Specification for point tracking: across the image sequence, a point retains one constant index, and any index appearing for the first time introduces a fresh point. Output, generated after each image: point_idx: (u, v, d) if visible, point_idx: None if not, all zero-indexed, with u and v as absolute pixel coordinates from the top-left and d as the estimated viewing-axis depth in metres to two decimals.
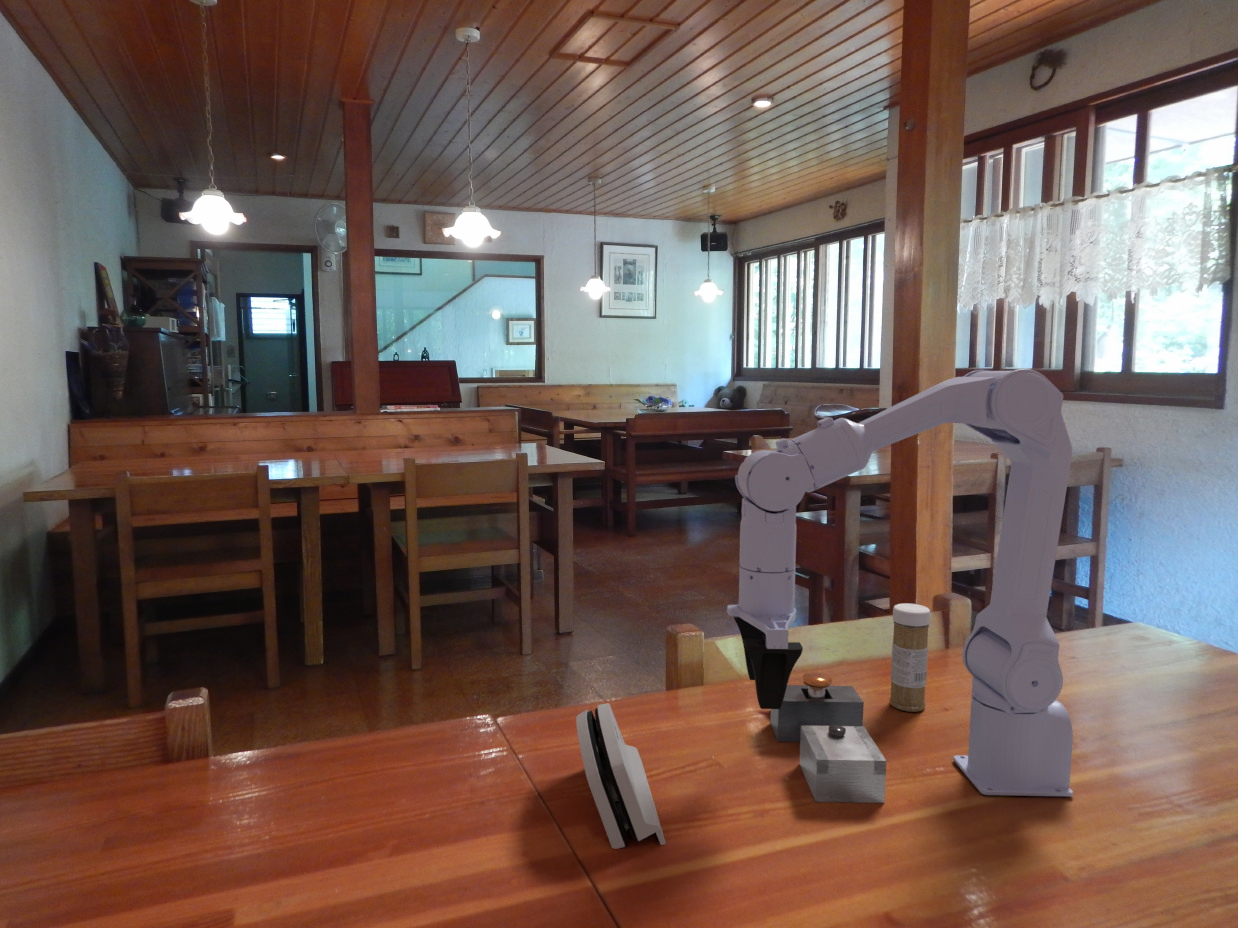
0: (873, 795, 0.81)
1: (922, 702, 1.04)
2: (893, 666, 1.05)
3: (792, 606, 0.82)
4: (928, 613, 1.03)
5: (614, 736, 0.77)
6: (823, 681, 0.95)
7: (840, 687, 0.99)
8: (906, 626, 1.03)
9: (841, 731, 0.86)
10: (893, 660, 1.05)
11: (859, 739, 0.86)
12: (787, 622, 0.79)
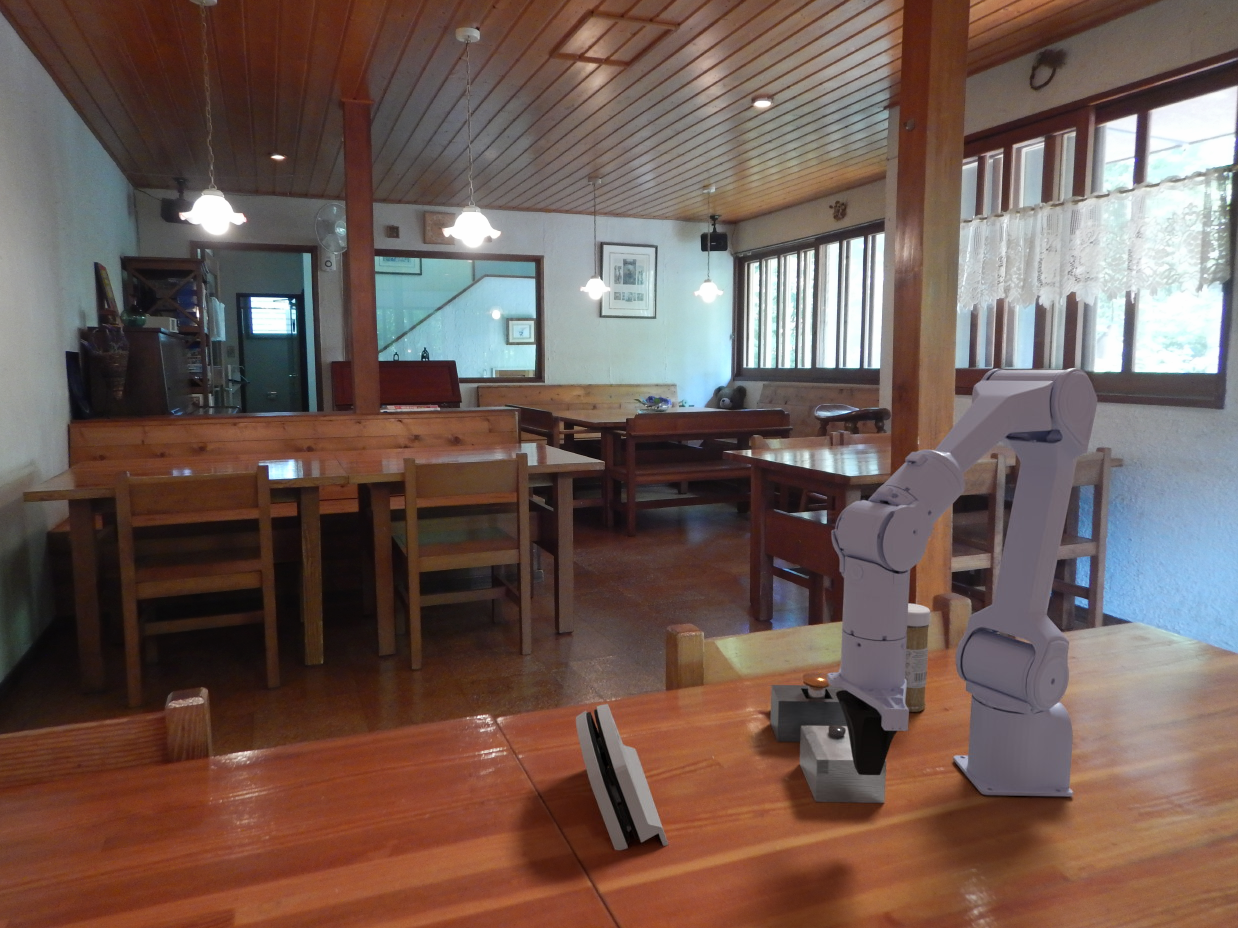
0: (873, 795, 0.81)
1: (922, 702, 1.04)
2: None
3: (903, 677, 0.73)
4: (928, 613, 1.03)
5: (615, 737, 0.77)
6: (823, 681, 0.95)
7: None
8: None
9: (840, 731, 0.86)
10: None
11: None
12: (903, 698, 0.69)
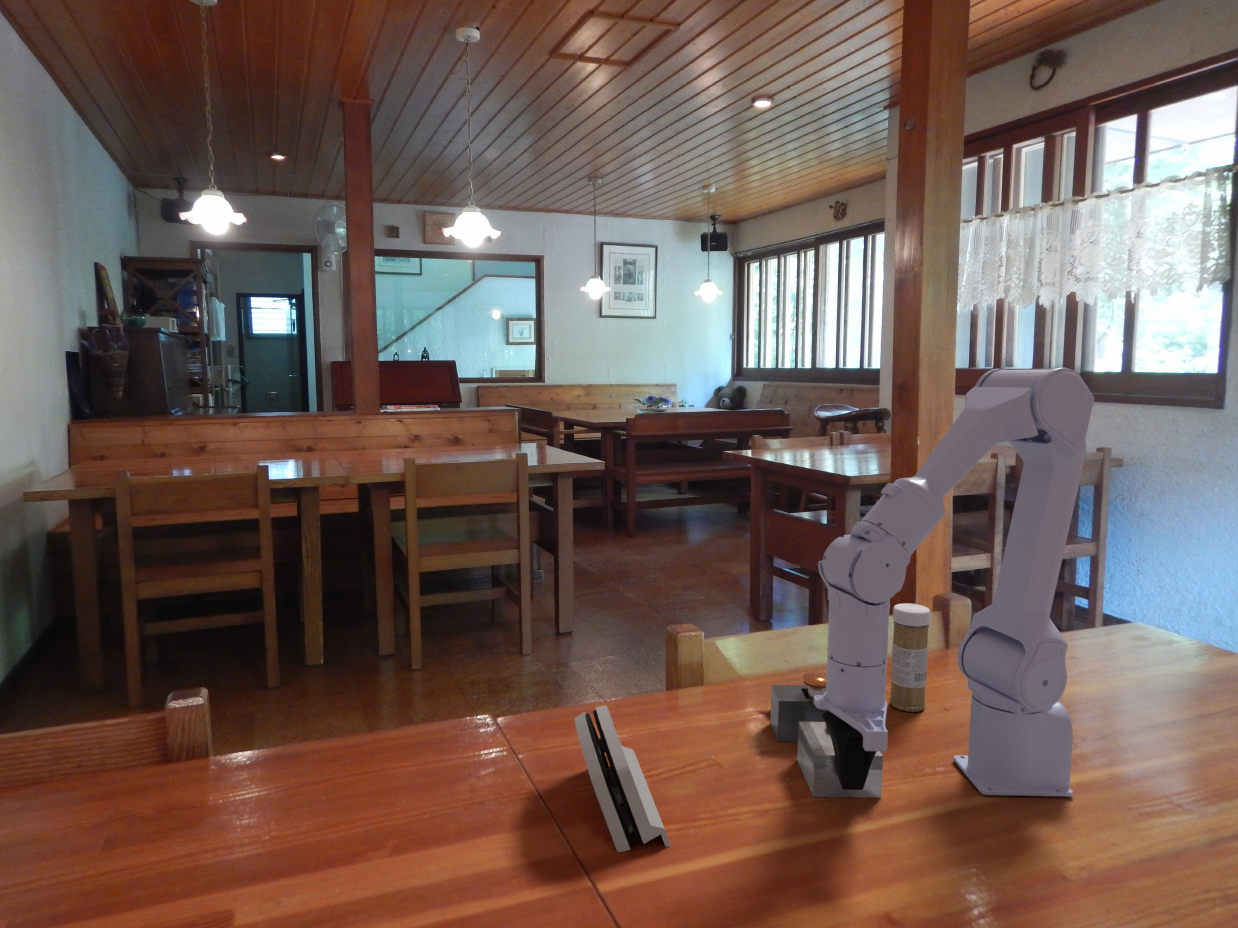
0: (870, 790, 0.82)
1: (922, 702, 1.04)
2: (893, 666, 1.05)
3: (884, 699, 0.78)
4: (928, 613, 1.03)
5: (617, 738, 0.77)
6: (823, 681, 0.95)
7: None
8: (906, 626, 1.03)
9: None
10: (893, 660, 1.05)
11: None
12: (883, 720, 0.75)
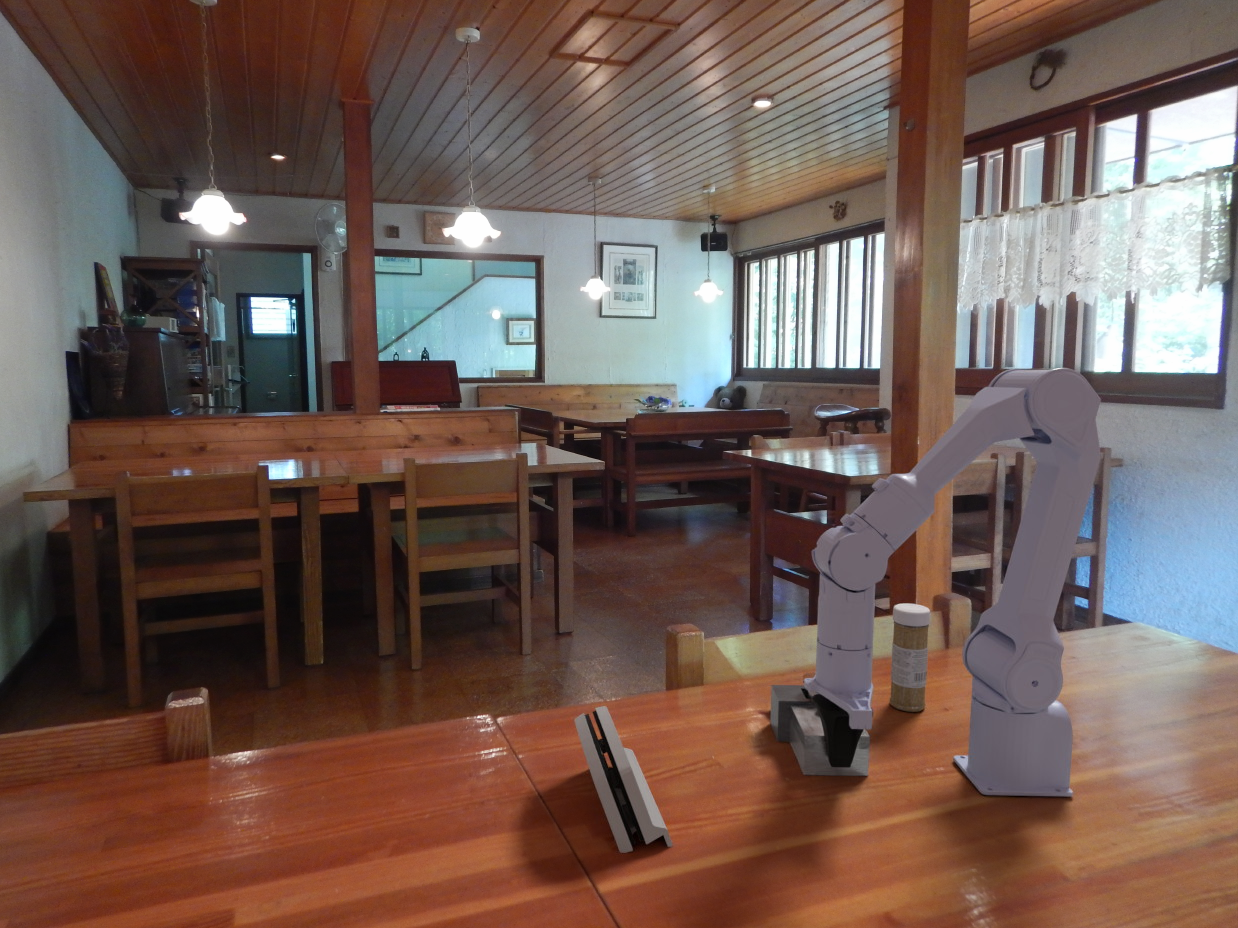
0: (857, 769, 0.87)
1: (922, 702, 1.04)
2: (893, 666, 1.05)
3: (870, 682, 0.83)
4: (928, 613, 1.03)
5: (618, 739, 0.76)
6: None
7: None
8: (906, 626, 1.03)
9: None
10: (893, 660, 1.05)
11: None
12: (869, 701, 0.80)
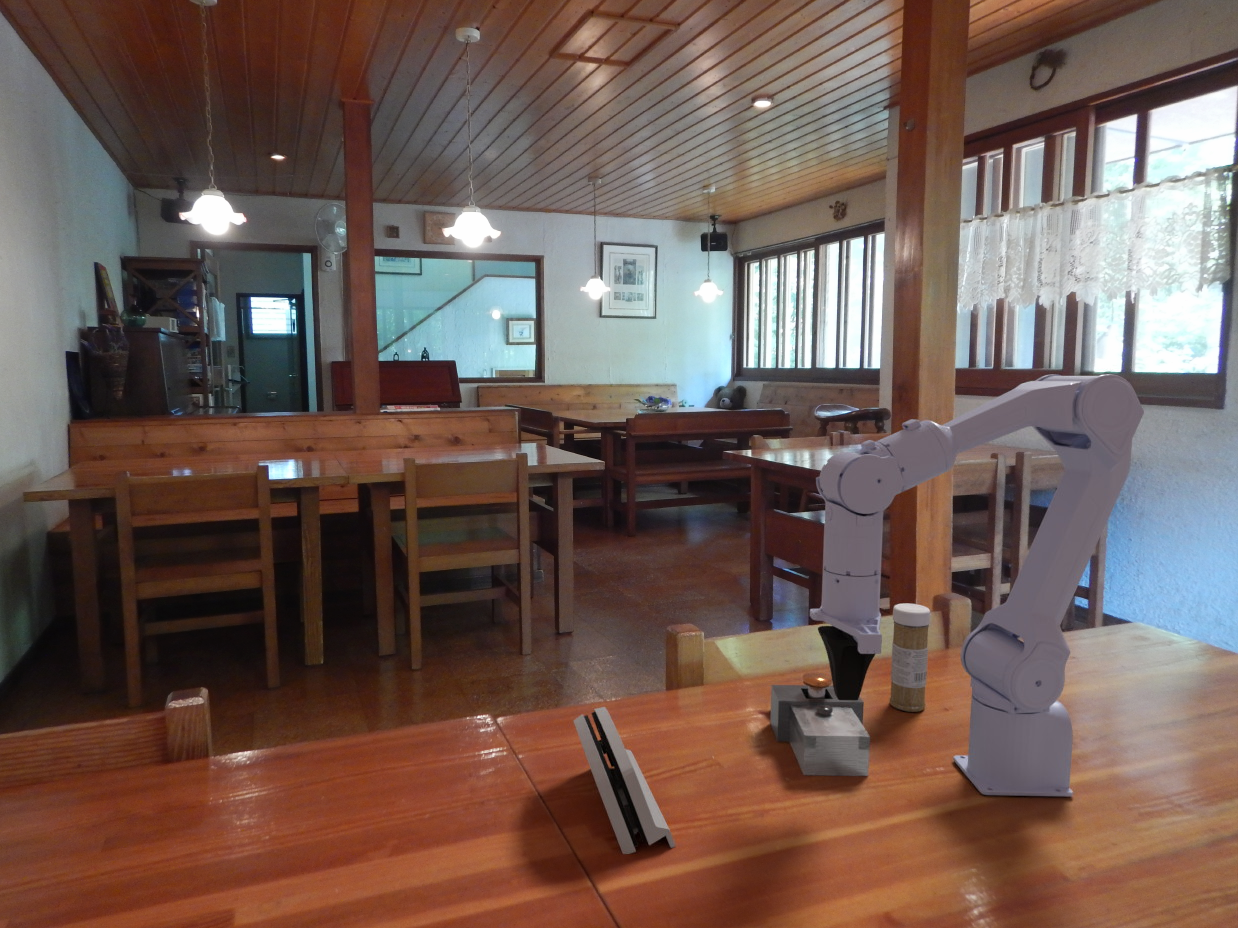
0: (857, 769, 0.87)
1: (922, 702, 1.04)
2: (893, 666, 1.05)
3: (878, 610, 0.81)
4: (928, 613, 1.03)
5: (620, 740, 0.76)
6: (823, 681, 0.95)
7: None
8: (906, 626, 1.03)
9: (828, 710, 0.92)
10: (893, 660, 1.05)
11: (845, 717, 0.91)
12: (877, 626, 0.77)
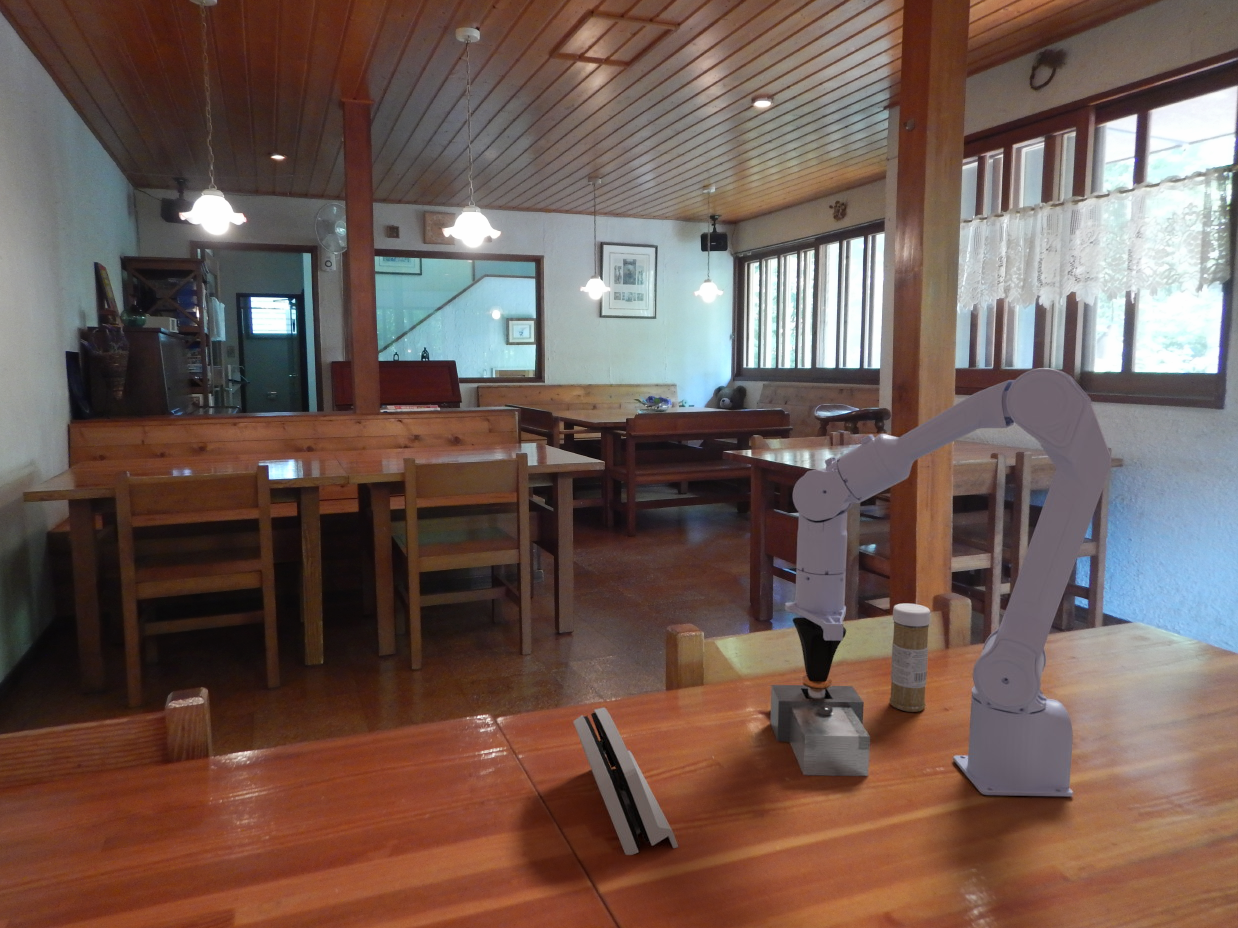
0: (857, 769, 0.87)
1: (922, 702, 1.04)
2: (893, 666, 1.05)
3: (843, 604, 0.94)
4: (928, 613, 1.03)
5: (621, 741, 0.76)
6: (823, 682, 0.95)
7: (840, 687, 0.99)
8: (906, 626, 1.03)
9: (828, 710, 0.92)
10: (893, 660, 1.05)
11: (845, 717, 0.91)
12: (841, 617, 0.91)
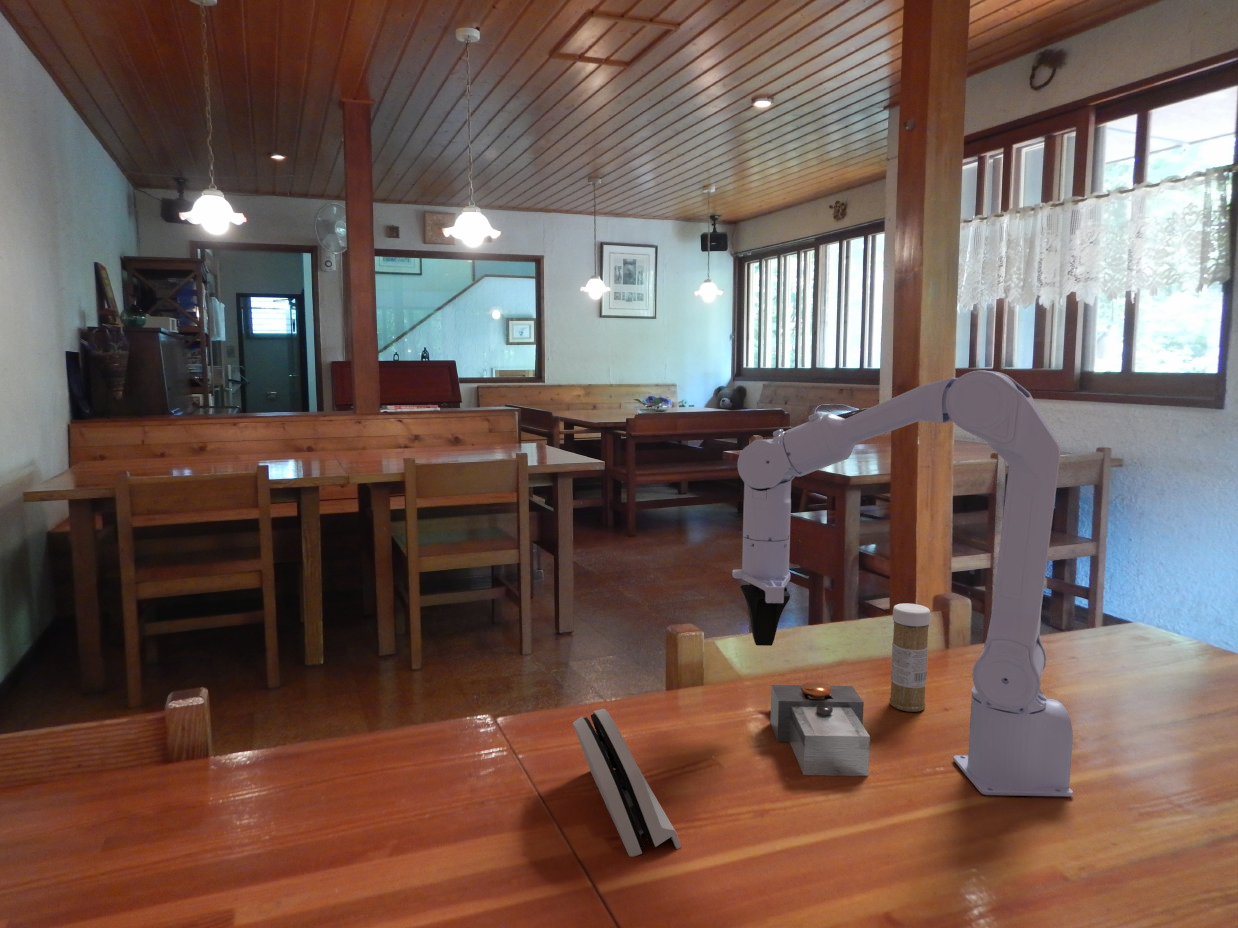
0: (857, 769, 0.87)
1: (922, 702, 1.04)
2: (893, 666, 1.05)
3: (787, 570, 0.97)
4: (928, 613, 1.03)
5: (623, 742, 0.76)
6: (823, 691, 0.96)
7: (840, 687, 0.99)
8: (906, 626, 1.03)
9: (828, 710, 0.92)
10: (893, 660, 1.05)
11: (845, 717, 0.91)
12: (783, 582, 0.94)
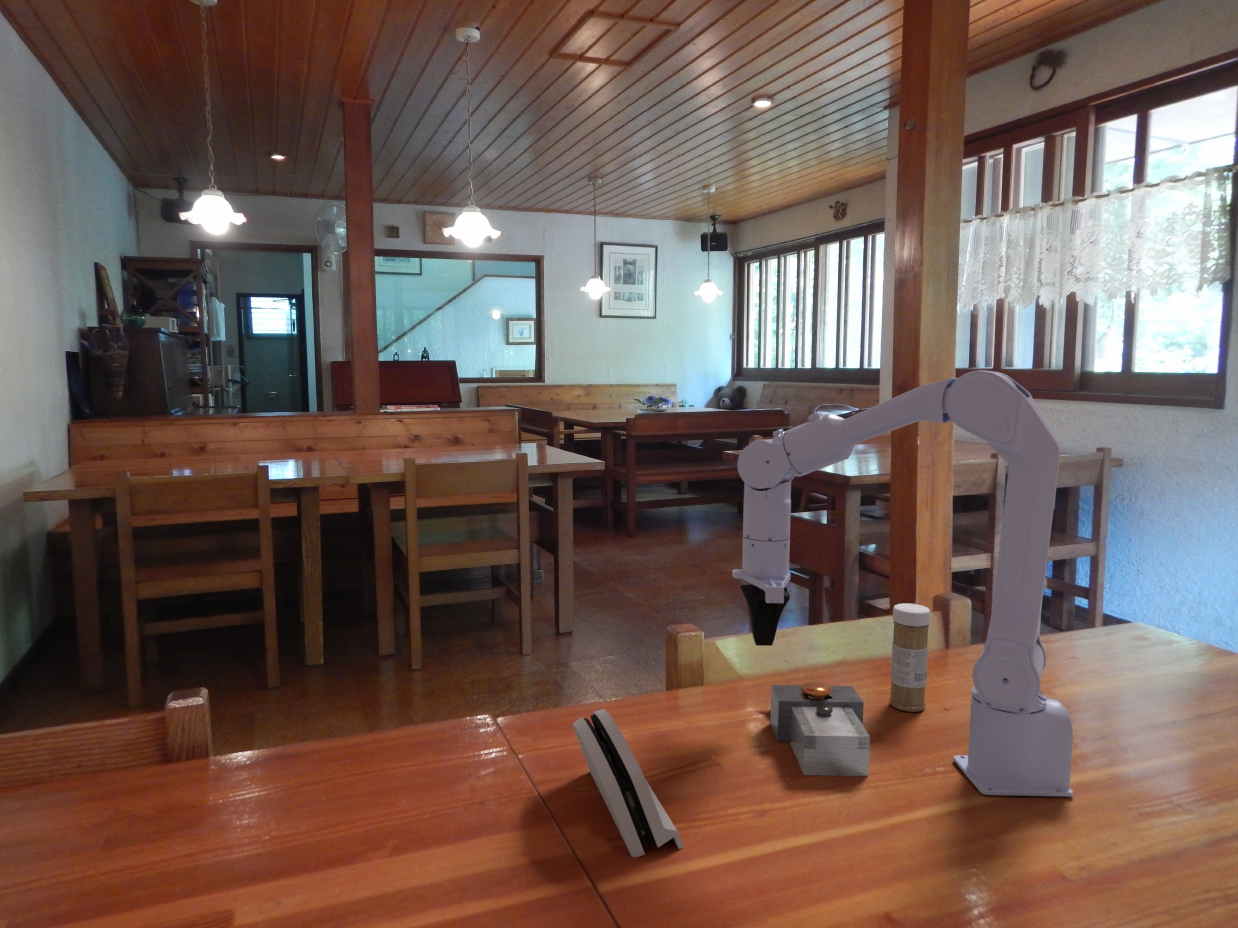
0: (857, 769, 0.87)
1: (922, 702, 1.04)
2: (893, 666, 1.05)
3: (787, 570, 0.97)
4: (928, 613, 1.03)
5: (625, 743, 0.76)
6: (823, 691, 0.96)
7: (840, 687, 0.99)
8: (906, 626, 1.03)
9: (828, 710, 0.92)
10: (893, 660, 1.05)
11: (845, 717, 0.91)
12: (783, 582, 0.94)
